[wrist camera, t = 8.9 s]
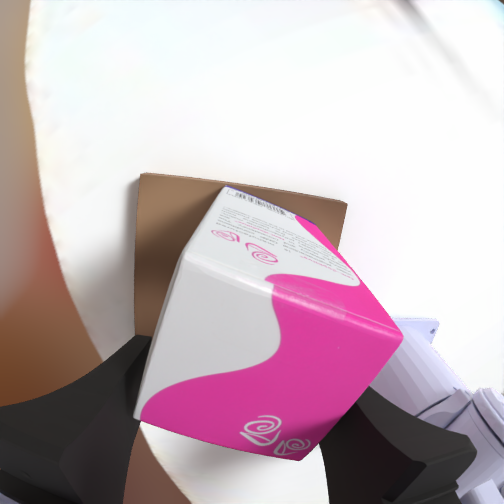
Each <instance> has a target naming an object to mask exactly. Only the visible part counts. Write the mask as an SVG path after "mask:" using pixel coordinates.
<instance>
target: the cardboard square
mask: <svg viewBox="0 0 504 504" xmlns="http://www.w3.org/2000/svg"><path fill="white" fill-rule="evenodd" d="M225 185H228V186H230V187H233V188H236V189H238V190H241V191H243V192H246V193H248V194H251V195H253V196H256V197H258V198H261V199H263V200H265V201H268V202H270V203H272V204H274V205H277V206H279V207H281V208H284V209H286V210H288V211H290V212H292V213H295V214H297V215H299V216H301V217H303V218H305V219H307V220H309V221H311V222H313V223H314V224H316V226H317V227H318V228H319V230H320V231H321V232H322V233H323V234H324V235H325V237H326V238H327V239H328V240H329V241H330V243H331V244H332V245H333V246H334V247H335V249H336V250H338V246H339V242H340V237H341V233H342V228H343V224H344V219H345V214H346V210H347V205H348V204H347V203H345V202H343V201H340V200H335V199H330V198H324V197H319V196H314V195H308V194H302V193H297V192H291V191H285V190H279V189H272V188H266V187H259V186H253V185H246V184H239V183H232V182H224V181H217V180H209V179H201V178H193V177H184V176H175V175H165V174H155V173H143V174H140V183H139V194H138V206H137V221H136V239H135V270H134V314H135V335H137V334H138V335H144V336H151V337H152V340H153V336H154V333H155V329H156V326H157V323H158V319H159V316H160V313H161V310H162V307H163V303H164V300H165V297H166V294H167V291H168V288H169V285H170V282H171V279H172V276H173V273H174V270H175V268H176V265H177V262H178V259H179V257H180V255H181V253H182V251H183V249H184V247H185V246H186V244H187V243H188V241H189V240H190V238H191V237H192V235H193V233H194V232H195V230H196V229H197V227H198V226H199V224H200V222H201V221H202V219H203V218H204V216H205V215H206V213H207V212H208V210H209V208H210V207H211V205H212V204H213V202H214V201H215V199H216V197H217V196H218V194H219V193H220V192H221V190H222V189H223V188H224V186H225Z"/></svg>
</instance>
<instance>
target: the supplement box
mask: <svg viewBox="0 0 504 504" xmlns="http://www.w3.org/2000/svg"><path fill="white" fill-rule="evenodd" d="M403 339H404V335H403V334H402V332H401V331H400V329H399V328H398V327H397V325H396V324H395V323H394V321H393V320H392V319H391V317H390V316H389V315H388V313H387V312H386V311H385V309H384V308H383V307H382V306H381V304H380V303H379V302H378V300H377V299H376V298H375V297H374V295H373V294H372V293H371V291H370V290H369V289H368V288H367V286H366V285H365V284H364V283H363V282H362V280H361V279H360V278H359V276H358V275H357V274H356V273H355V272H354V270H353V269H352V268H351V267H350V266H349V264H348V263H347V262H346V261H345V259H344V258H343V257H342V256H341V255H340V253H339V252H338V251H337V250H336V249H335V247H334V246H333V245H332V244H331V243H330V241H329V240H328V239H327V238H326V237H325V235H324V234H323V233H322V232H321V231H320V230H319V228H318V227H317V226H316V224H314V223H313V222H311V221H309V220H307V219H305V218H303V217H301V216H299V215H297V214H295V213H292V212H290V211H288V210H286V209H284V208H281V207H279V206H277V205H274V204H272V203H270V202H268V201H265V200H263V199H261V198H258V197H256V196H253V195H251V194H248V193H246V192H243V191H241V190H238V189H236V188H233V187H230V186H228V185H225V186H224V188H223V189H222V190H221V192H220V193H219V194H218V196H217V197H216V199H215V201H214V202H213V204H212V205H211V207H210V208H209V210H208V212H207V213H206V215H205V216H204V218H203V219H202V221H201V222H200V224H199V226H198V227H197V229H196V230H195V232H194V233H193V235H192V237H191V238H190V240H189V241H188V243H187V244H186V246H185V247H184V249H183V251H182V253H181V255H180V257H179V259H178V262H177V265H176V268H175V270H174V273H173V276H172V279H171V282H170V285H169V288H168V291H167V294H166V297H165V300H164V303H163V307H162V310H161V313H160V316H159V319H158V323H157V326H156V329H155V333H154V336H153V340H152V343H151V347H150V350H149V354H148V357H147V361H146V365H145V369H144V373H143V377H142V381H141V385H140V389H139V393H138V397H137V401H136V405H135V409H134V413H133V418H135V419H137V420H139V421H143V422H145V423H148V424H151V425H154V426H157V427H160V428H163V429H165V430H168V431H171V432H174V433H178V434H181V435H184V436H187V437H191V438H194V439H198V440H201V441H205V442H208V443H212V444H216V445H219V446H223V447H227V448H232V449H236V450H240V451H245V452H250V453H255V454H260V455H265V456H271V457H276V458H282V459H289V460H295V461H300V460H302V459H303V458H304V457H305V456H306V455H308V454H309V453H310V452H311V451H312V450H313V448H314V447H316V446H317V444H318V443H319V442H320V441H321V440H322V439H323V438H324V437H325V436H326V434H327V433H328V432H329V431H330V430H331V429H332V428H333V426H334V425H335V424H336V423H337V422H338V421H339V420H340V419H341V417H342V416H343V415H344V414H345V413H346V412H347V411H348V410H349V408H350V407H351V406H352V405H353V404H354V403H355V402H356V400H357V399H358V398H359V397H360V396H361V394H362V393H363V392H364V391H365V390H366V388H367V387H368V386H369V385H370V384H371V382H372V381H373V380H374V379H375V377H376V376H377V375H378V374H379V372H380V371H381V370H382V368H383V367H384V366H385V365H386V363H387V362H388V361H389V359H390V358H391V357H392V355H393V354H394V353H395V351H396V350H397V349H398V347H399V346H400V344H401V343H402V341H403Z"/></svg>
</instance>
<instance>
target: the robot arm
mask: <svg viewBox="0 0 504 504" xmlns="http://www.w3.org/2000/svg"><path fill="white" fill-rule="evenodd" d="M391 319H392V320H393V321H394V323H395V324H396V325H397V327H398V328H399V329H400V331H401V332H402V334H403V335H404V339H403V341H402V343H401V344H400V346H399V347H398V349H397V350H396V351H395V353H394V354H393V355H392V357H391V358H390V359H389V361H388V362H387V363H386V365H385V366H384V367H383V368H382V370H381V371H380V372H379V374H378V375H377V376H376V377H375V379H374V380H373V381H372V382H371V384H370V385H369V386H368V387H367V388H366V390H365V391H364V392H363V393H362V394H361V396H360V397H359V398H358V399H357V400H356V402H355V403H354V404H353V405H352V406H351V407H350V408H349V410H348V411H347V412H346V413H345V414H344V415H343V416H342V417H341V419H340V420H339V421H338V422H337V423H336V424H335V425H334V426H333V428H332V429H331V430H330V431H329V432H328V433H327V434H326V436H325V437H324V438H323V439H322V440H321V441H320V442H319V445H320V449H321V452H322V456H323V460H324V466H325V472H326V479H327V486H328V495H329V504H504V396H503V395H502V394H500V393H499V392H498V391H497V390H495V389H494V388H485V389H483V388H479V389H478V390H477V391H476V392H475V393H474V394H472V392H471V391H470V390H469V389H468V387H467V386H466V385H465V384H464V383H463V381H462V380H461V379H460V378H459V377H458V375H457V374H456V373H455V372H454V371H453V369H452V368H451V367H450V366H449V365H448V364H447V362H446V361H445V360H444V359H443V358H442V357H441V356H440V354H439V353H438V352H437V351H436V350H435V349H434V348H433V346H432V345H431V343H432V341H433V338H434V336H435V334H436V331H437V329H438V326H439V321H438V320H437V319H416V318H391ZM431 330H432V331H431ZM151 343H152V337H151V336H144V335H138V334H137V335H135V336H134V337H133V338H132V339H130V340H129V341H128V342H127V343H126V344H125V345H124V346H122V347H121V348H120V349H119V350H118V351H117V352H115V353H114V354H113V355H112V356H110V357H109V358H108V359H107V360H106V361H104V362H103V363H102V364H100V365H99V366H98V367H97V368H95V369H94V370H92V371H91V372H89V373H88V374H86V375H85V376H83V377H81V378H80V379H78V380H76V381H74V382H73V383H71V384H69V385H67V386H65V387H63V388H60V389H58V390H56V391H54V392H52V393H49V394H47V395H44V396H41V397H39V398H35V399H33V400H29V401H25V402H22V403H18V404H12V405H8V406H2V407H0V504H123V497H124V490H125V483H126V476H127V471H128V465H129V460H130V455H131V450H132V446H133V443H134V439H135V437H136V434H137V431H138V428H139V425H140V422H141V421H139V420H137V419H135V418H133V413H134V409H135V405H136V401H137V397H138V393H139V389H140V385H141V381H142V377H143V373H144V369H145V365H146V361H147V357H148V354H149V350H150V347H151Z"/></svg>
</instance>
